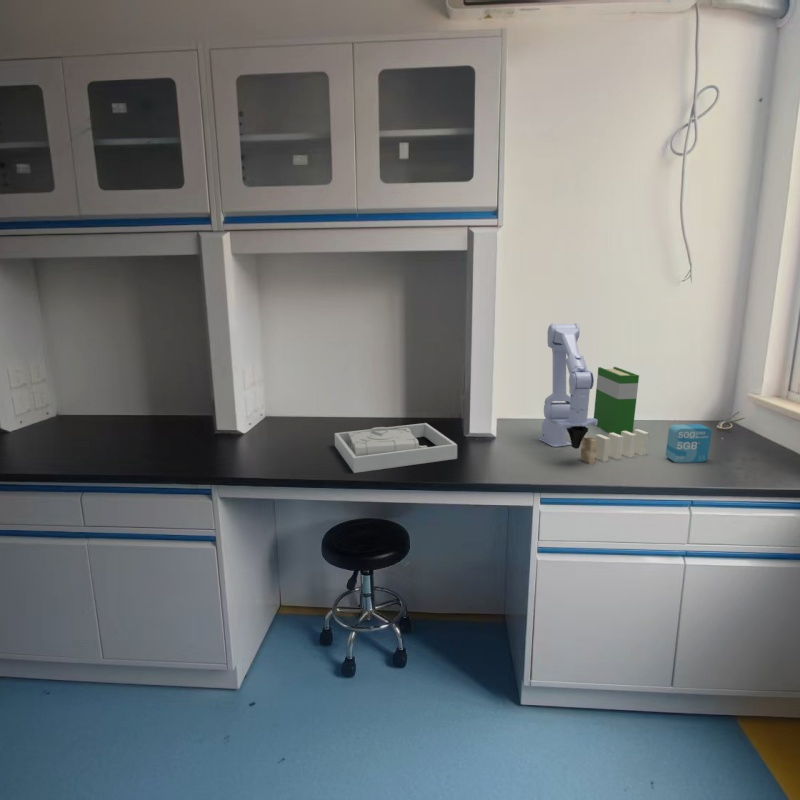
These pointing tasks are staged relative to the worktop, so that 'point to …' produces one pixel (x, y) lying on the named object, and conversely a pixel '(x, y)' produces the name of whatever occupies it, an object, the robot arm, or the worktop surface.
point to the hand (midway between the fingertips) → (575, 447)
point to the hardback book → (615, 400)
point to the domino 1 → (588, 449)
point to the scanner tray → (440, 452)
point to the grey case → (382, 441)
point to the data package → (688, 443)
